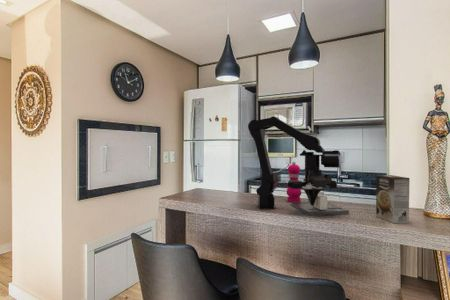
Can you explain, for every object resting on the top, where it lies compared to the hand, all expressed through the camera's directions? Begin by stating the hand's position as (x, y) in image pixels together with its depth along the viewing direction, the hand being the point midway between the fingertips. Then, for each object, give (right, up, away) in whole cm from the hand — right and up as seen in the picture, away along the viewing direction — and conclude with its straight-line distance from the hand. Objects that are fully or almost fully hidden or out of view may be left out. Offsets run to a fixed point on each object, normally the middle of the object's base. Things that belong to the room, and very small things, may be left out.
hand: (312, 205), depth 103 cm
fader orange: (+4, -1, 0) cm, 4 cm away
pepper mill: (-1, -3, +23) cm, 23 cm away
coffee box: (+26, -3, -10) cm, 28 cm away
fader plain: (+7, -1, +13) cm, 15 cm away
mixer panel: (+4, -3, +6) cm, 8 cm away
